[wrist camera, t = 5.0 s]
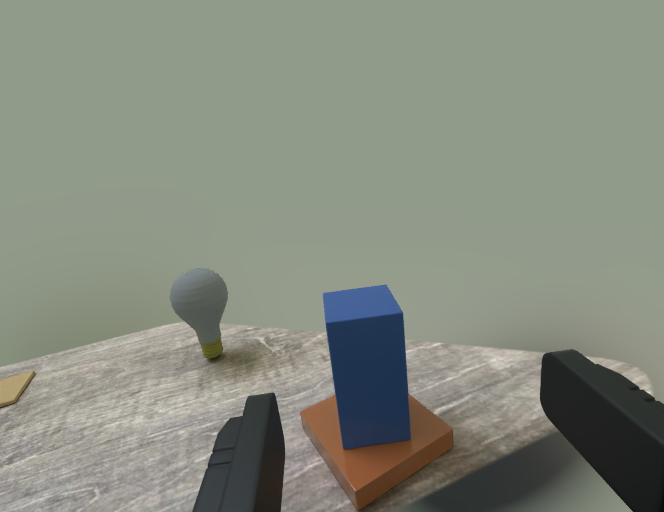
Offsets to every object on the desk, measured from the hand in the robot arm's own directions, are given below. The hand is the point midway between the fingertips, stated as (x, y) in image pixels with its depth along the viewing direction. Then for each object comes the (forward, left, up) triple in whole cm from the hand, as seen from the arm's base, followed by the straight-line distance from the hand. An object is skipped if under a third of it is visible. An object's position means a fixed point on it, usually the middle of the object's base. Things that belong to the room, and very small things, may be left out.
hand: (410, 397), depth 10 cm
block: (+11, +2, -11) cm, 16 cm away
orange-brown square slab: (+11, +2, -12) cm, 17 cm away
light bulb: (+22, +19, -12) cm, 32 cm away
